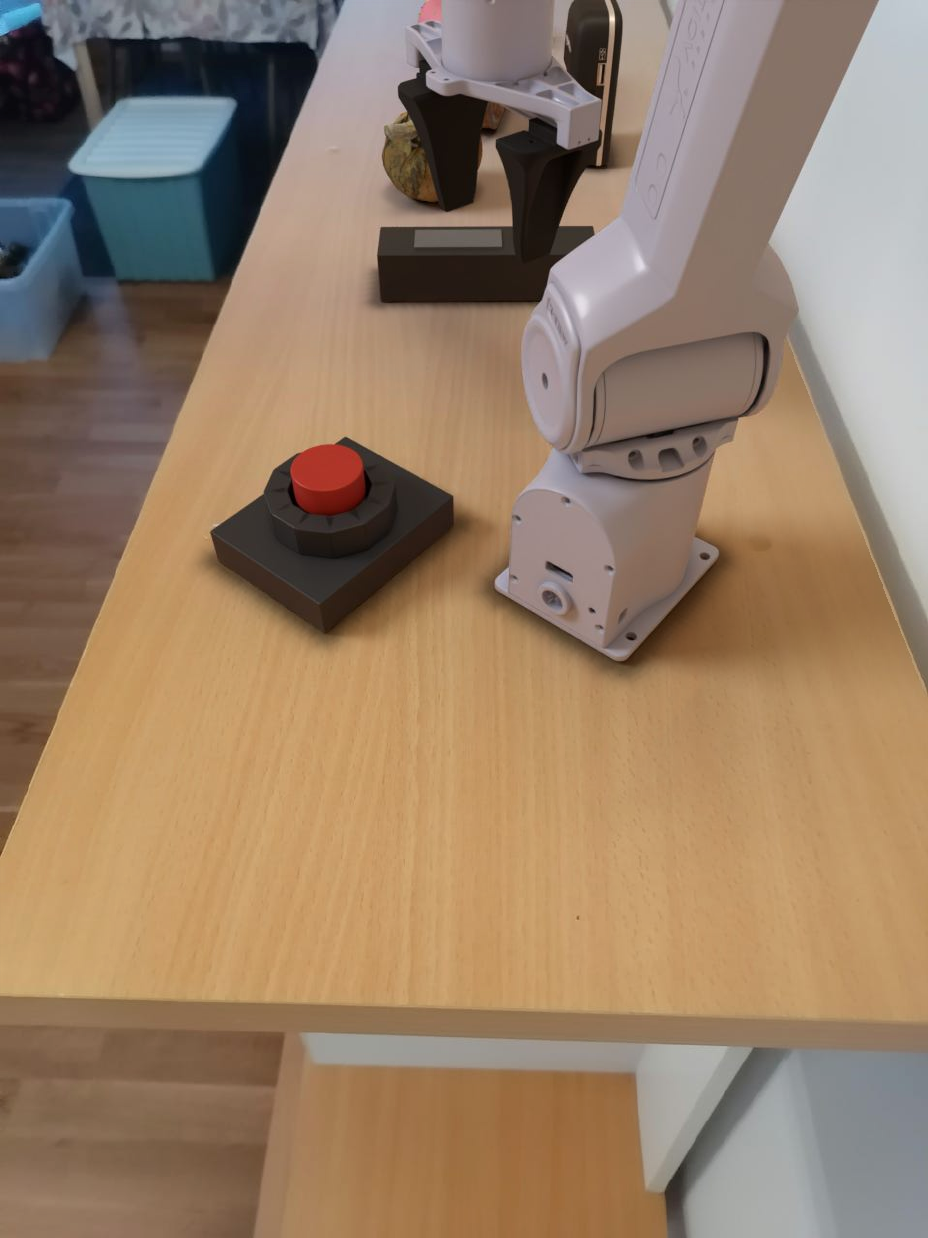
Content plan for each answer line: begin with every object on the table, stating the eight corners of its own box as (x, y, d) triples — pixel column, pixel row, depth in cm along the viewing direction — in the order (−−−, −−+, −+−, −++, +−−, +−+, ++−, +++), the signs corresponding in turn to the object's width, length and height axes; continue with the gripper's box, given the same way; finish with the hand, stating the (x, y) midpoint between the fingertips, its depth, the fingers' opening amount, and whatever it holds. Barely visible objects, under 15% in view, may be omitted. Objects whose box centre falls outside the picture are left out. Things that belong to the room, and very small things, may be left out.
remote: (588, 271, 69) (593, 223, 67) (593, 300, 67) (598, 251, 64) (383, 272, 70) (380, 224, 67) (380, 301, 67) (376, 252, 64)
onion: (485, 213, 75) (487, 106, 69) (384, 217, 75) (377, 110, 69) (478, 170, 80) (479, 67, 74) (383, 174, 80) (376, 70, 74)
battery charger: (556, 135, 85) (566, -14, 76) (598, 134, 85) (613, -14, 76) (564, 170, 80) (575, 16, 72) (609, 169, 80) (625, 16, 72)
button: (330, 527, 47) (326, 500, 45) (280, 496, 48) (275, 469, 47) (380, 489, 49) (378, 463, 47) (330, 460, 50) (326, 434, 49)
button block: (324, 634, 47) (314, 579, 44) (217, 561, 50) (201, 504, 47) (454, 525, 52) (453, 469, 49) (349, 465, 55) (342, 409, 52)
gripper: (350, -59, 49) (372, 202, 59) (525, 17, 41) (515, 303, 51) (462, -82, 51) (464, 172, 62) (646, -14, 44) (613, 264, 54)
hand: (493, 230), depth 57 cm, fingers open, 7 cm apart
